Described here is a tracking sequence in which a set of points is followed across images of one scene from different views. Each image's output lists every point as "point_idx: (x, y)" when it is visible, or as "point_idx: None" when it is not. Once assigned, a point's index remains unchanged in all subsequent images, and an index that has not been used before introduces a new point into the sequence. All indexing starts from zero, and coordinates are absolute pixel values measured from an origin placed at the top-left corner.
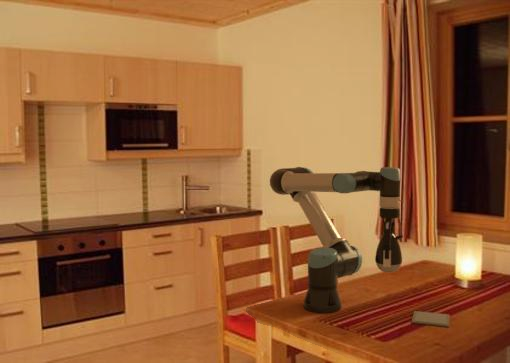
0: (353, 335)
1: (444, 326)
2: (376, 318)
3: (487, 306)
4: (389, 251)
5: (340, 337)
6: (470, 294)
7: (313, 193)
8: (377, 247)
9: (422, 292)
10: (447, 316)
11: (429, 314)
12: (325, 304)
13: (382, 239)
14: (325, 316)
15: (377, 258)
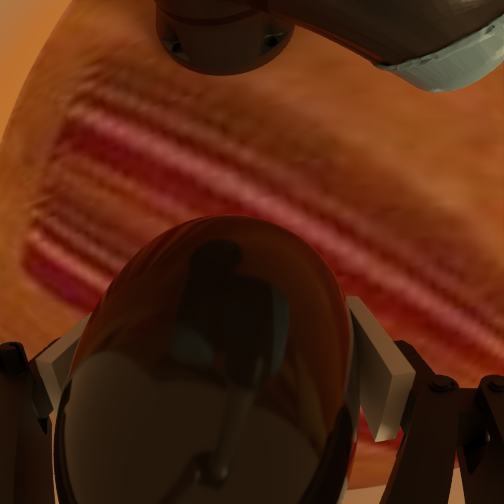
0: (24, 187)
1: None
2: (168, 216)
3: (381, 465)
4: (58, 406)
5: (8, 162)
6: None
7: None
8: (149, 275)
9: (487, 321)
10: None
11: None
12: (159, 33)
13: (63, 426)
14: (135, 58)
15: (134, 255)
